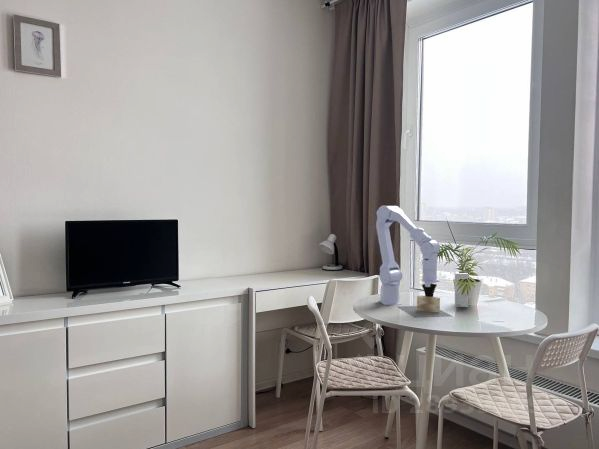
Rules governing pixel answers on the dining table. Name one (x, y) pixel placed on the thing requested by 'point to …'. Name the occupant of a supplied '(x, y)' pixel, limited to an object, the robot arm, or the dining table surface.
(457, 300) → the skincare box
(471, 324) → the dining table surface
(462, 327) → the dining table surface
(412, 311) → the mat
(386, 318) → the dining table surface
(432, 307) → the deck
